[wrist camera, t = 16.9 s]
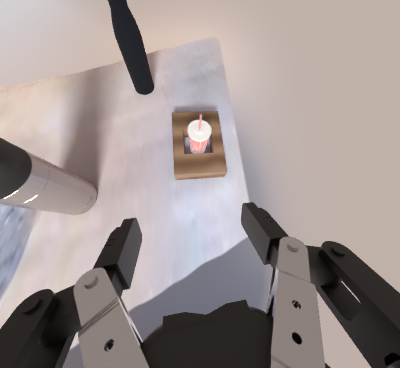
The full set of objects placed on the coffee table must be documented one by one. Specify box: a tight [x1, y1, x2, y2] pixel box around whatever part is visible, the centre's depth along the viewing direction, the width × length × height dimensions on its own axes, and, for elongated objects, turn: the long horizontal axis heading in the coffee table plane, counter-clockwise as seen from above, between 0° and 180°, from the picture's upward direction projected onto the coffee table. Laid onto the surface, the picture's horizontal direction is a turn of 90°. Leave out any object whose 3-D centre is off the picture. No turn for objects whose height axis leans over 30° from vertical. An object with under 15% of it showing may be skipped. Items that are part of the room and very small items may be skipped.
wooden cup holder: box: [172, 111, 227, 180], centre depth 44 cm, size 20×14×4 cm
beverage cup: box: [187, 114, 212, 154], centre depth 39 cm, size 6×6×14 cm
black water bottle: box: [108, 0, 154, 95], centre depth 38 cm, size 6×6×30 cm
